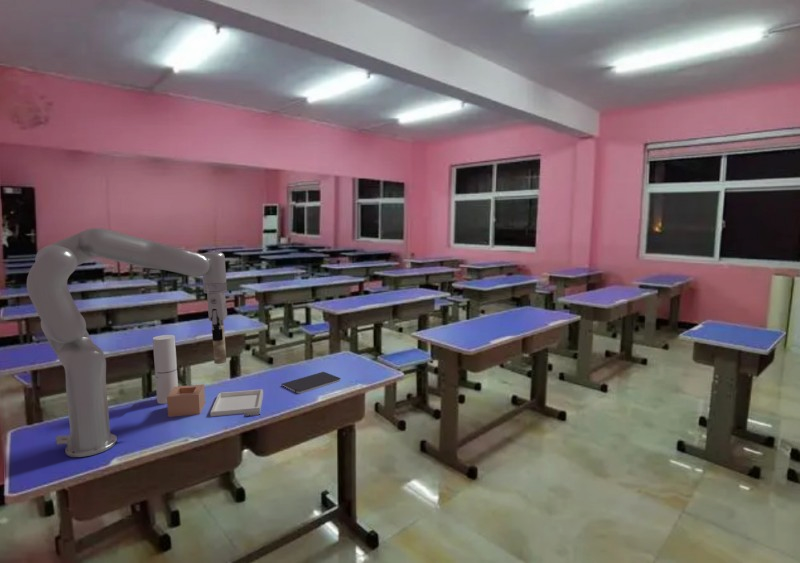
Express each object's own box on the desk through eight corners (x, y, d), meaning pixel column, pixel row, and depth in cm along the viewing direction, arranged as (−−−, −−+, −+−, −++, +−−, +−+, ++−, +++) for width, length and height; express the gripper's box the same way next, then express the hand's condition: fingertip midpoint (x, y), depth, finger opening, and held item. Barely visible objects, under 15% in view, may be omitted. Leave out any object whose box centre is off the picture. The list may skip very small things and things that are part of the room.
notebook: (323, 374, 196) (281, 387, 180) (323, 371, 195) (281, 383, 180) (341, 381, 187) (298, 395, 172) (341, 378, 187) (298, 391, 172)
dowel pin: (213, 364, 154) (210, 328, 152) (215, 360, 158) (212, 325, 156) (225, 363, 155) (223, 327, 153) (227, 359, 159) (224, 324, 157)
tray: (210, 419, 149) (210, 412, 149) (219, 399, 167) (219, 392, 166) (259, 414, 153) (259, 407, 153) (263, 395, 170) (262, 389, 170)
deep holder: (168, 419, 149) (166, 397, 148) (175, 407, 159) (174, 386, 158) (199, 416, 151) (198, 394, 150) (205, 405, 161) (204, 384, 160)
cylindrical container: (169, 407, 159) (165, 340, 156) (152, 405, 161) (148, 339, 158) (183, 399, 166) (179, 335, 163) (166, 398, 168) (162, 334, 164)
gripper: (223, 290, 146) (227, 344, 148) (229, 283, 162) (232, 332, 164) (199, 291, 144) (203, 345, 146) (207, 284, 160) (211, 333, 162)
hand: (218, 338), depth 155 cm, fingers closed on dowel pin, 4 cm apart
